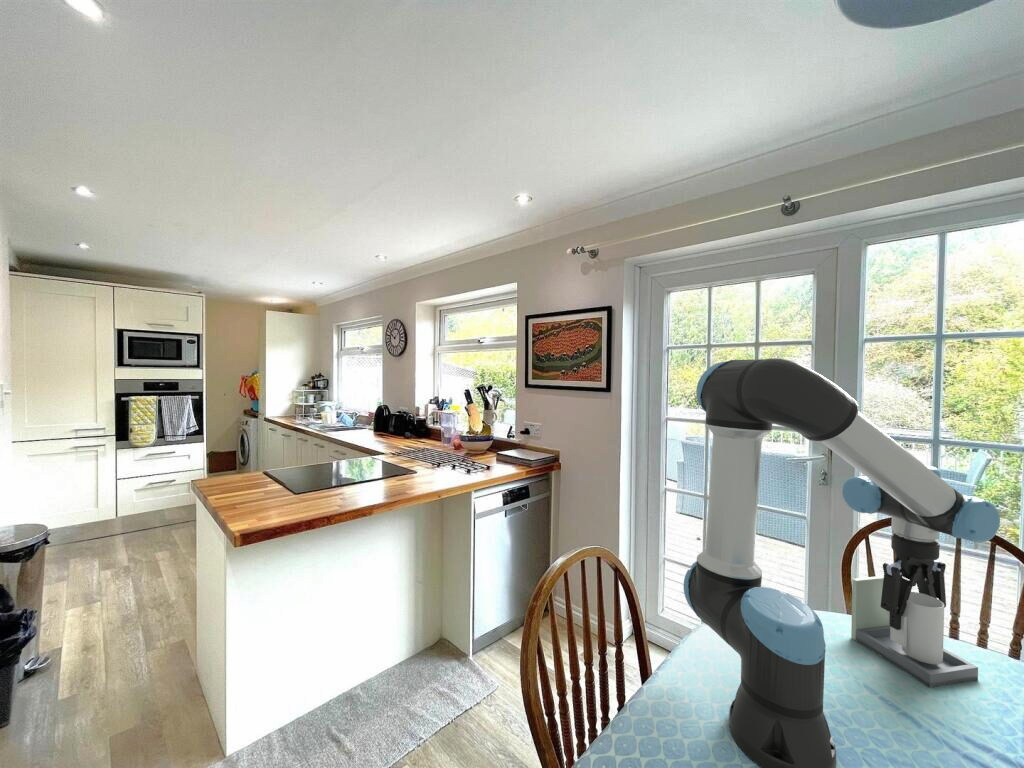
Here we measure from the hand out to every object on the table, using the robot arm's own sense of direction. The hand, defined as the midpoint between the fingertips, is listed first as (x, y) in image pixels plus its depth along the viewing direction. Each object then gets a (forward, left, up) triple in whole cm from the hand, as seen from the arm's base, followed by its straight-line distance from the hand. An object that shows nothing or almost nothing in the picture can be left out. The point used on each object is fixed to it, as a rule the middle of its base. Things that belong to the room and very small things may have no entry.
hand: (912, 640), depth 92 cm
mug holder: (0, 0, -4) cm, 4 cm away
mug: (0, 0, -2) cm, 2 cm away
